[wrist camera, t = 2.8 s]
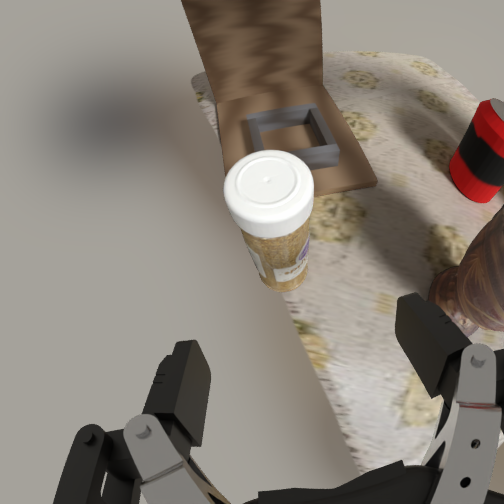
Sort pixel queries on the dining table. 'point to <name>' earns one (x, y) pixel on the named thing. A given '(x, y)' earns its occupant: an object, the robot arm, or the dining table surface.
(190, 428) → the robot arm
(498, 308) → the mortar and pestle
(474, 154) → the soda can
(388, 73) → the dining table surface
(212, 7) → the overhang stand
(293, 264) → the sprinkles bottle
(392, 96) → the dining table surface
